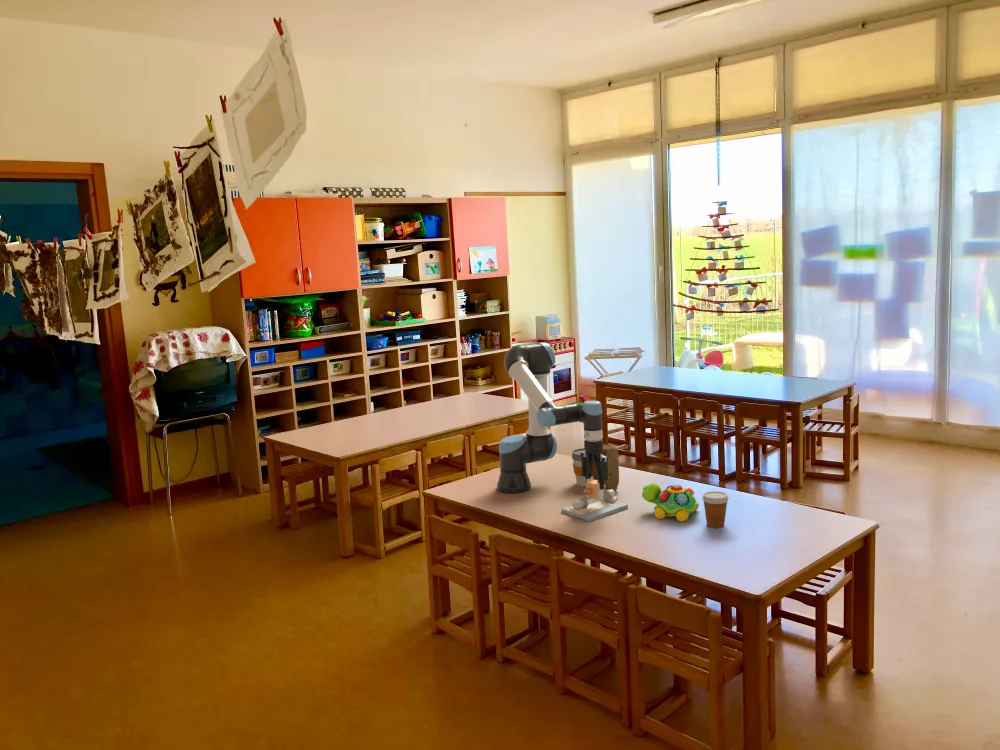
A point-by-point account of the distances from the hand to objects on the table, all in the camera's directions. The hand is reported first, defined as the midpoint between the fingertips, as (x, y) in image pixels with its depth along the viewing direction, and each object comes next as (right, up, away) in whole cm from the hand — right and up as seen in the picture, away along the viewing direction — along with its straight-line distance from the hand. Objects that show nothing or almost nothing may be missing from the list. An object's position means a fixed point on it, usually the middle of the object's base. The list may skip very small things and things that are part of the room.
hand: (595, 495), depth 323 cm
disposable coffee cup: (+43, -8, -22) cm, 49 cm away
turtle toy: (+29, -7, -7) cm, 30 cm away
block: (+8, -2, +26) cm, 27 cm away
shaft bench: (0, -6, +1) cm, 6 cm away
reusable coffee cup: (+1, -1, +37) cm, 37 cm away
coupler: (0, 0, 0) cm, 1 cm away
